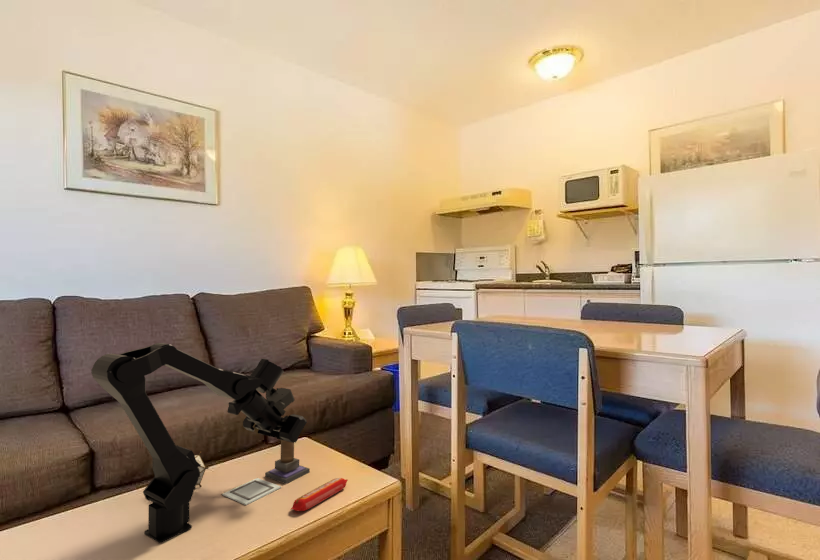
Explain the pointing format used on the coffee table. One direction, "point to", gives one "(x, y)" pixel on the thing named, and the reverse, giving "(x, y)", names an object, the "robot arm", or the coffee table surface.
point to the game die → (200, 468)
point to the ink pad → (287, 474)
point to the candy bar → (319, 494)
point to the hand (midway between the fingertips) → (291, 439)
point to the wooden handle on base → (287, 458)
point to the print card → (251, 491)
